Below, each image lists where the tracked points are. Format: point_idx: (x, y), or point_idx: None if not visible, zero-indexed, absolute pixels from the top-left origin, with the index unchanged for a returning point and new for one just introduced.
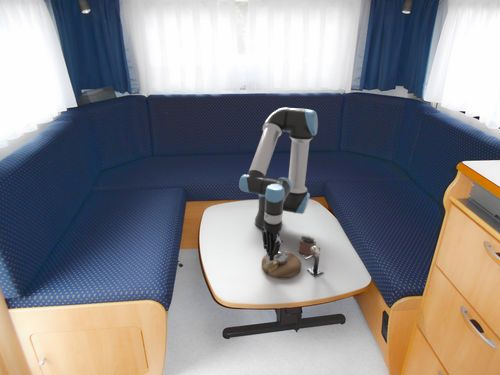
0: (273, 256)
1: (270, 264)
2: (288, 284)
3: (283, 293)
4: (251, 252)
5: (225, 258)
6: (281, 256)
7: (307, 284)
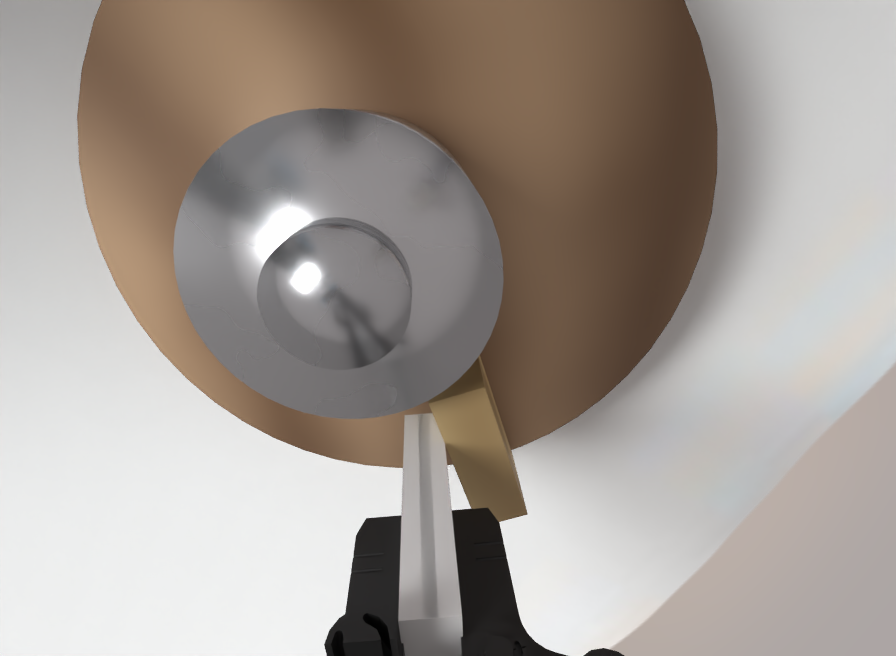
0: (513, 597)
1: (478, 494)
2: (705, 313)
3: (754, 416)
4: (7, 386)
5: (74, 607)
6: (431, 300)
7: (877, 108)
